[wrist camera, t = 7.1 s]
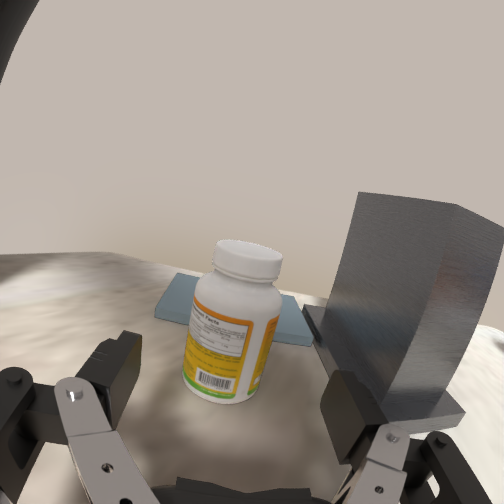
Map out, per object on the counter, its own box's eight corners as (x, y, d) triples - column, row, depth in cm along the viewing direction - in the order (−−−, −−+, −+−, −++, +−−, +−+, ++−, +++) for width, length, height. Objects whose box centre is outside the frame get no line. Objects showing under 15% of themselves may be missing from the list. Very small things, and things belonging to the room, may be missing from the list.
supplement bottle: (234, 356, 23) (262, 240, 21) (271, 398, 19) (313, 265, 17) (170, 362, 20) (191, 231, 18) (199, 412, 16) (231, 259, 14)
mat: (154, 317, 26) (155, 307, 26) (176, 280, 37) (177, 272, 37) (310, 346, 28) (313, 337, 28) (291, 303, 38) (293, 296, 38)
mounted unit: (357, 438, 16) (454, 196, 12) (300, 315, 35) (335, 186, 32) (456, 426, 17) (537, 241, 13) (371, 326, 36) (408, 209, 33)
